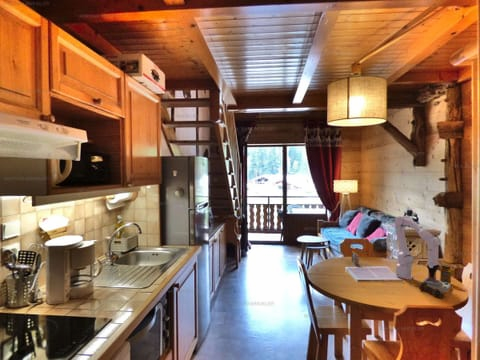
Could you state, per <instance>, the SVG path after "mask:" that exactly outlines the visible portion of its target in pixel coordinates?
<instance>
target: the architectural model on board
mask: <svg viewBox="0 0 480 360" xmlns="http://www.w3.org/2000/svg"><path fill="white" fill-rule="evenodd" d="M359 260H360V259H359V255H358V254H357V253H356V252H355V251H353V249H352V250H351V262H352V263H353V264H354V265H355V266H359V263H360V262H359Z"/></svg>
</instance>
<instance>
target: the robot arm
mask: <svg viewBox="0 0 480 360" xmlns="http://www.w3.org/2000/svg"><path fill="white" fill-rule="evenodd" d="M394 223H395V224H394V230H395V234H396V239H397V243H398V249H399V252H398V254H397V262H398V263H397V264H396V269H395V271H396V272H395V277H396V276H397V277H396V278H401V279H404V280H409V281H410V280H412V278H413V275H412V266H413V264H414V262H415V258H414V257H413V255H412V254H413V253H412V252H410V251H409V248H408V247H409V246H408V244H407V239H406V233H405V228H407V226H408V227H410V228H412V229H413V230H414V231H416V232H417V233H418V236H419V237H420V238H421V239H422V240H424V241H425V243H426V245H427V264H428V265H426V268H427V270H428V271H429V274H430V277H433V278H434V276H435V271H436V272H437V270H438V268H439V266H440V265H441V263H440V262H439V246H440V245H441V243H442V242H441V239H440V238H439V237H437V236H434V234H432V233H430V232H429V230H428V229H425V228H424V229H422V227H421V226H420V225H419V224H417V223H416V221H415V220H414V219H413V217H411V216H410V215H401V216H400V215H398V216H396V217H395V218H394Z"/></svg>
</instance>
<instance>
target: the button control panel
mask: <svg viewBox="0 0 480 360" xmlns="http://www.w3.org/2000/svg"><path fill="white" fill-rule="evenodd" d="M422 282H425V283H427V286H429V287H431V288H433V289H439V290H440V292H442V293H446V292H447V294H448V293H449V291H450V289H451V285H450V284H449V283H448V282H442V281H440V280H439V279H436V280H431V279H428V277H425V278H424V280H423V281H422Z"/></svg>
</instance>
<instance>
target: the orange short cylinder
mask: <svg viewBox="0 0 480 360" xmlns="http://www.w3.org/2000/svg"><path fill="white" fill-rule="evenodd" d="M427 274H428V275H427V278H428V279H431V280H437V271H435V276H434V278H433V277H430V274H429V270H428V272H427Z"/></svg>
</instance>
